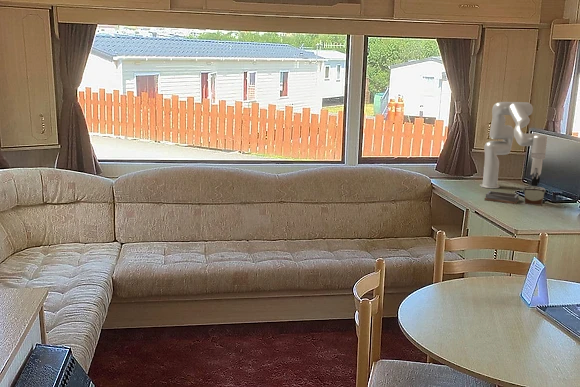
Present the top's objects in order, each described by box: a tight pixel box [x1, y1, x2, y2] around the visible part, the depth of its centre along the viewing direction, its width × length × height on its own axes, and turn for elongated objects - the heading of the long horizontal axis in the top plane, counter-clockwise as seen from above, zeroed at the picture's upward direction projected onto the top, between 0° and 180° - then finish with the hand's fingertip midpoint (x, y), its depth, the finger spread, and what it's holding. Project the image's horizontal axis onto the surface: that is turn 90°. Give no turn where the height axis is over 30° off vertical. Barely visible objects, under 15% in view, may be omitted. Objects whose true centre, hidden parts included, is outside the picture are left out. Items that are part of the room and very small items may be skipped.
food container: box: [523, 185, 547, 206], centre depth 337 cm, size 12×6×10 cm, turn 71°
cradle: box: [484, 190, 520, 205], centre depth 345 cm, size 13×18×4 cm
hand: (535, 184), depth 335 cm, fingers open, 9 cm apart
